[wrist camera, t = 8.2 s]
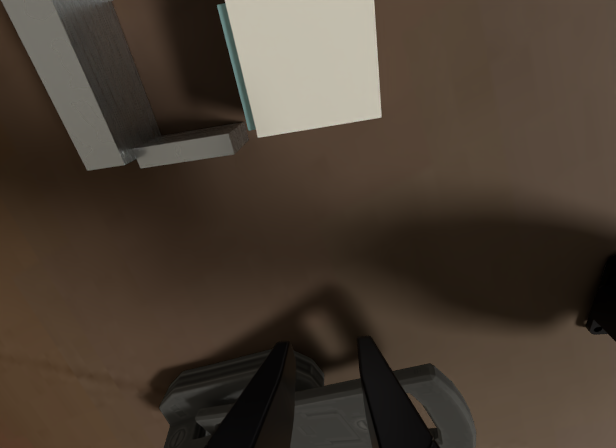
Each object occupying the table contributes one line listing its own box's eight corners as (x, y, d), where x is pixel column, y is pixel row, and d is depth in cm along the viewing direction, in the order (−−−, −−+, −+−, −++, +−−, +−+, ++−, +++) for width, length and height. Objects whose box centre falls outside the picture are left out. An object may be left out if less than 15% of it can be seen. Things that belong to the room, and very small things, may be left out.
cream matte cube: (359, -14, 14) (371, -45, 10) (368, 101, 17) (381, 117, 12) (246, 11, 15) (211, -7, 11) (270, 118, 17) (248, 139, 13)
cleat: (208, -23, 15) (168, -48, 11) (248, 139, 18) (228, 160, 14) (74, 9, 15) (-2, -5, 12) (136, 157, 19) (92, 180, 15)
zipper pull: (492, 455, 20) (188, 513, 27) (455, 363, 26) (214, 431, 33) (445, 367, 16) (111, 461, 23) (415, 285, 22) (155, 380, 29)
